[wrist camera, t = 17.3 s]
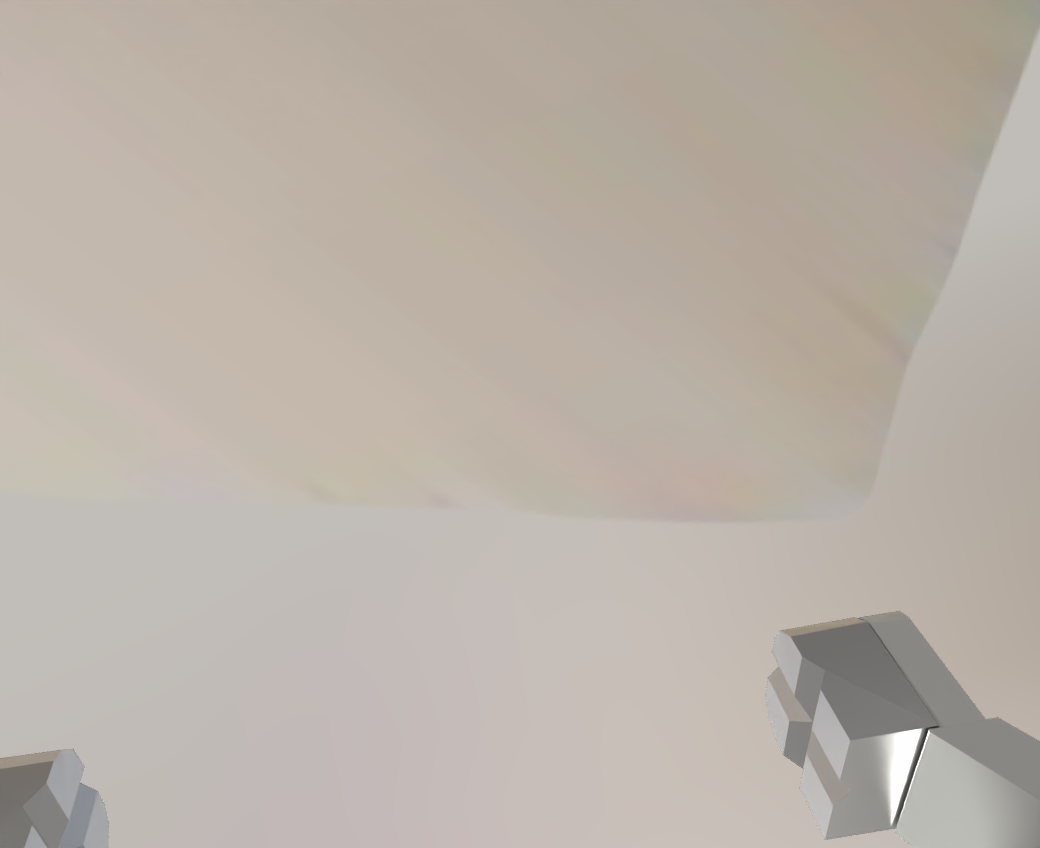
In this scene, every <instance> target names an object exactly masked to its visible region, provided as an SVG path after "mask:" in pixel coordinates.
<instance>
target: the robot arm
mask: <svg viewBox="0 0 1040 848" xmlns="http://www.w3.org/2000/svg"><path fill="white" fill-rule="evenodd" d="M772 654H773V656H774V658H775V659H776V661H777V663H778V665H779V666H778V667H777V669H776V670H775V671H774V672H773V673H772V674H771V675H770V676H769V677H768V680H767V689H766V703H767V710H768V717H769V721H770V724H771V727H772V730H773V733H774V736H775V738H776V740H777V743H778V745H779V747H780V749H781V751H782V753H783V755H784V756H785V757H787V758H788V759H790V760H791V761H793V762H794V763H796V764H797V765H798V766H800V767H801V768H803V772H802V777H801V782H800V787H799V788H800V790H801V793H802V795H803V797H804V799H805V801H806V803H807V805H808V807H809V809H810V811H811V813H812V815H813V817H814V819H815V821H816V823H817V825H818V827H819V829H820V831H821V833H822V835H823V837H824V839H825V840H828V839H834V838H840V837H846V836H852V835H859V834H865V833H871V832H876V831H883V830H889V829H896V830H895V833H896V834H897V835H898V836H899V837H901V838H902V839H903V840H904V841H905V842H907V843H908V844H909V845H910V846H911V847H913V848H1040V741H1039V740H1037V739H1035V738H1033V737H1032V736H1030V735H1028V734H1026V733H1024V732H1023V731H1021V730H1019V729H1017V728H1016V727H1014V726H1012V725H1011V724H1009V723H1007V722H1005V721H1004V720H1002V719H1000V718H998V717H996V718H989V719H985V717H984V716H983V715H982V714H981V712H980V711H979V709H978V708H977V707H976V705H975V704H974V703H973V701H972V700H971V699H970V698H969V696H968V695H967V694H966V692H965V691H964V690H963V688H962V687H961V686H960V684H959V683H958V682H957V680H956V679H955V678H954V676H953V675H952V674H951V672H950V671H949V670H948V668H947V667H946V666H945V664H944V663H943V662H942V660H941V659H940V658H939V656H938V655H937V654H936V652H935V651H934V650H933V648H932V647H931V646H930V645H929V643H928V642H927V641H926V639H925V638H924V637H923V635H922V634H921V633H920V631H919V630H918V629H917V627H916V626H915V625H914V623H913V622H912V621H911V619H910V618H909V617H908V616H906V615H905V614H903V613H902V612H900V611H896V612H890V613H883V614H877V615H872V616H865V617H860V618H849V619H842V620H837V621H832V622H826V623H820V624H814V625H809V626H804V627H798V628H792V629H786V630H781V631H779V633H778V634H777V635H776V637H775V638H774V644H773V649H772ZM83 771H84V765H83V764H82V762H81V760H80V759H79V757H78V755H77V754H76V752H75V750H74V749H64V750H57V751H50V752H42V753H35V754H28V755H20V756H13V757H6V758H0V848H108V838H109V821H108V817H107V812H106V808H105V804H104V802H103V800H102V798H101V796H100V794H99V792H98V791H96V790H94V789H92V788H90V787H88V786H86V785H84V784H82V783H80V781H81V777H82V774H83Z"/></svg>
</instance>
